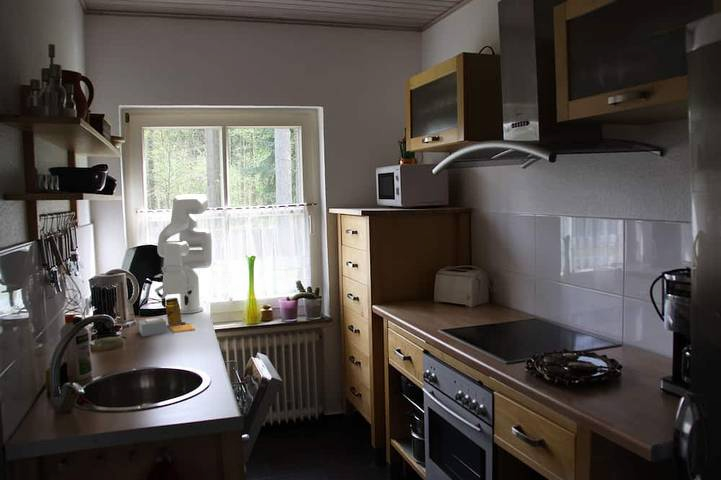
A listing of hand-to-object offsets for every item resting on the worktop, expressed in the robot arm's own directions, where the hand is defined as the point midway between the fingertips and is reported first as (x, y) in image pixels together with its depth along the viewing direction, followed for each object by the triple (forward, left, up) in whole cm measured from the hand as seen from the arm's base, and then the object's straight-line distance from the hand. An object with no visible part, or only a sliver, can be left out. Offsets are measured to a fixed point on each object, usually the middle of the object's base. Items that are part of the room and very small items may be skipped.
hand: (175, 306), depth 277 cm
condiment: (-1, 0, -9) cm, 9 cm away
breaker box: (+9, -12, -9) cm, 17 cm away
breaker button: (+9, -12, -7) cm, 17 cm away
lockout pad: (+10, +1, -9) cm, 13 cm away
